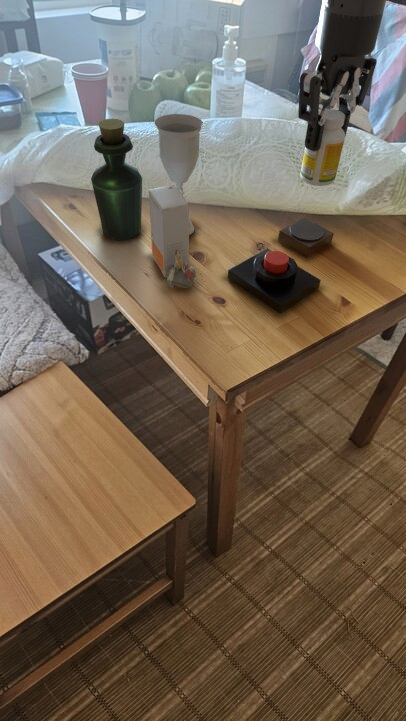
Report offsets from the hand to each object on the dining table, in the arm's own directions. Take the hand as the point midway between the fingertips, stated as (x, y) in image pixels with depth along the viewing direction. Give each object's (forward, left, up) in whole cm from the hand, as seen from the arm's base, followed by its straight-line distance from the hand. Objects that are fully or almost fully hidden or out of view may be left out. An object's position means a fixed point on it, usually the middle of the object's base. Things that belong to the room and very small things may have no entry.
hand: (325, 143), depth 74 cm
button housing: (-4, +12, -17) cm, 22 cm away
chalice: (+17, +13, -17) cm, 28 cm away
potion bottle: (+23, +21, -17) cm, 36 cm away
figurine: (+5, +23, -17) cm, 30 cm away
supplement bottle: (0, 0, -6) cm, 6 cm away
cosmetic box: (+10, +21, -17) cm, 29 cm away
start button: (-4, +12, -14) cm, 19 cm away
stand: (0, 0, -17) cm, 17 cm away
